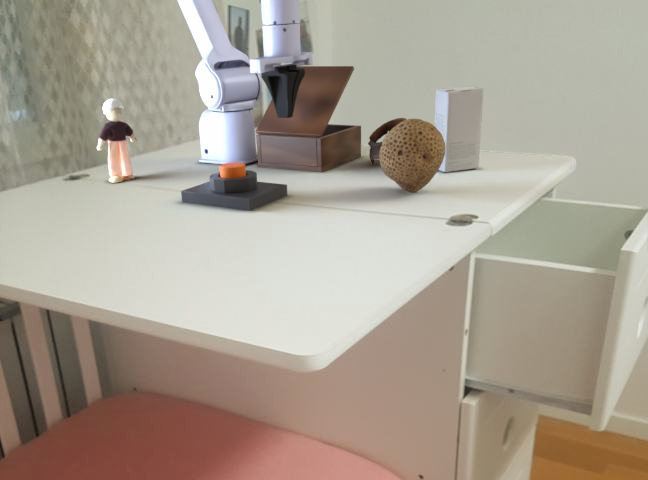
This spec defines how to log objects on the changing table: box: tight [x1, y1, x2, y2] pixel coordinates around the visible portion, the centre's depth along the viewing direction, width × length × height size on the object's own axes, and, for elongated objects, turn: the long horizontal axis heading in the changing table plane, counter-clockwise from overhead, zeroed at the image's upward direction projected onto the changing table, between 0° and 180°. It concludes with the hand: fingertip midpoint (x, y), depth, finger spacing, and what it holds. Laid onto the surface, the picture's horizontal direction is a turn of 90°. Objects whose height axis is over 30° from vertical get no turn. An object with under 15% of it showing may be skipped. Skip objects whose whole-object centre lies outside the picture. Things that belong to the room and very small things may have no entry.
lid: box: [255, 65, 355, 137], centre depth 118 cm, size 14×13×1 cm
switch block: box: [180, 169, 288, 212], centre depth 100 cm, size 12×9×4 cm
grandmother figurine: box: [96, 97, 138, 184], centre depth 115 cm, size 8×4×13 cm, turn 152°
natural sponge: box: [379, 118, 445, 193], centre depth 98 cm, size 9×9×10 cm
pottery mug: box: [367, 117, 408, 166], centre depth 118 cm, size 12×9×8 cm
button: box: [219, 162, 247, 178], centre depth 100 cm, size 4×4×2 cm
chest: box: [255, 123, 362, 173], centre depth 122 cm, size 14×13×5 cm
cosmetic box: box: [434, 85, 484, 173], centre depth 110 cm, size 6×4×12 cm
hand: (285, 117), depth 114 cm, fingers closed
